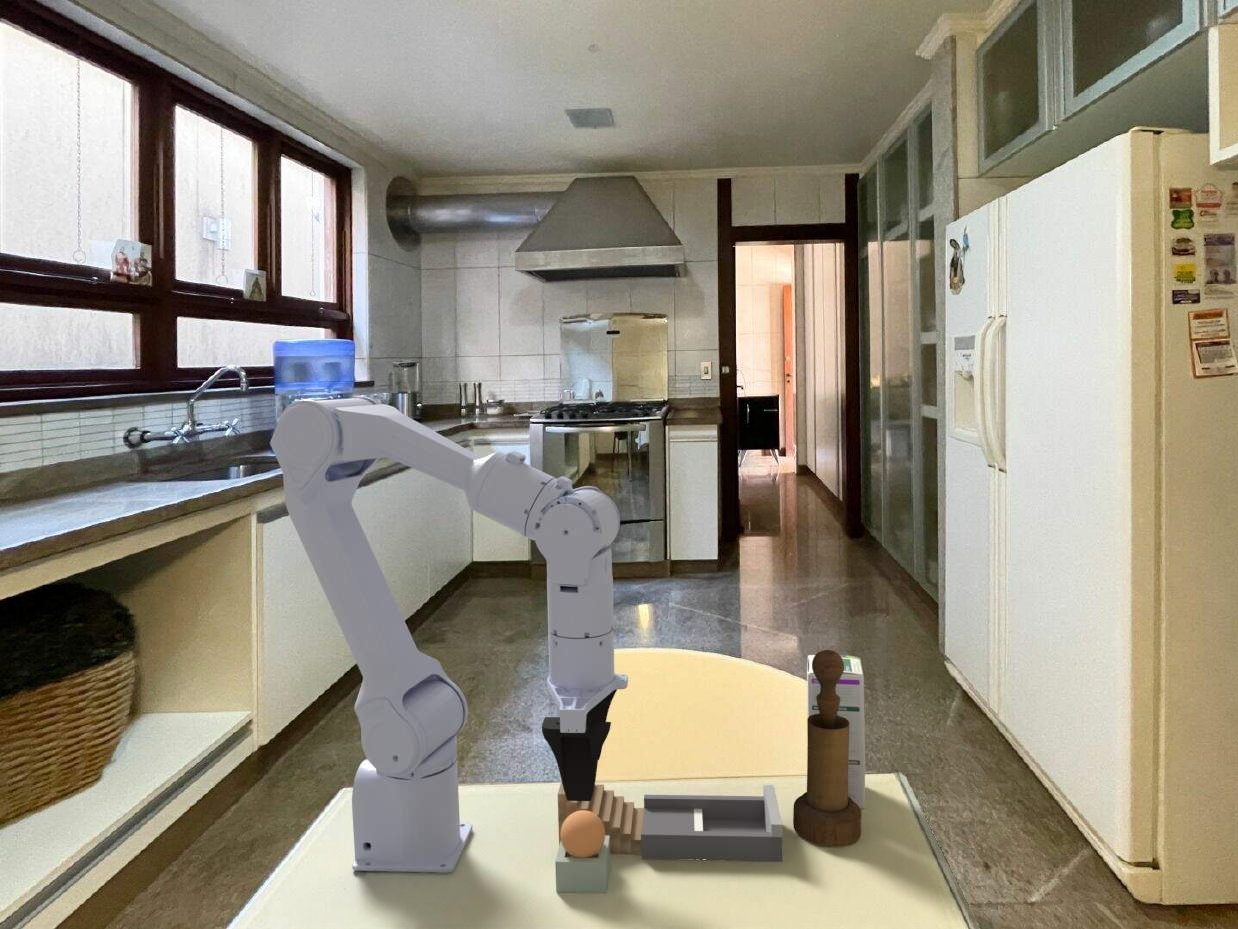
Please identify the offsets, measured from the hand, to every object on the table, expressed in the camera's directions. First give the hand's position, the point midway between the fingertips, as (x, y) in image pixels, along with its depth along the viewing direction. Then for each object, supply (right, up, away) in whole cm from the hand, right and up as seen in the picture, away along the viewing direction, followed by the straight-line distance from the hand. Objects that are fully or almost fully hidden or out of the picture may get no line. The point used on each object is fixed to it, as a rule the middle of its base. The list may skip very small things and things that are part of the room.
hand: (584, 777), depth 77 cm
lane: (+11, -8, +7) cm, 16 cm away
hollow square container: (0, -9, +1) cm, 9 cm away
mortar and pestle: (+24, -8, +8) cm, 26 cm away
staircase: (+2, -9, +8) cm, 12 cm away
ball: (0, -5, 0) cm, 5 cm away
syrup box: (+26, -7, +15) cm, 31 cm away
